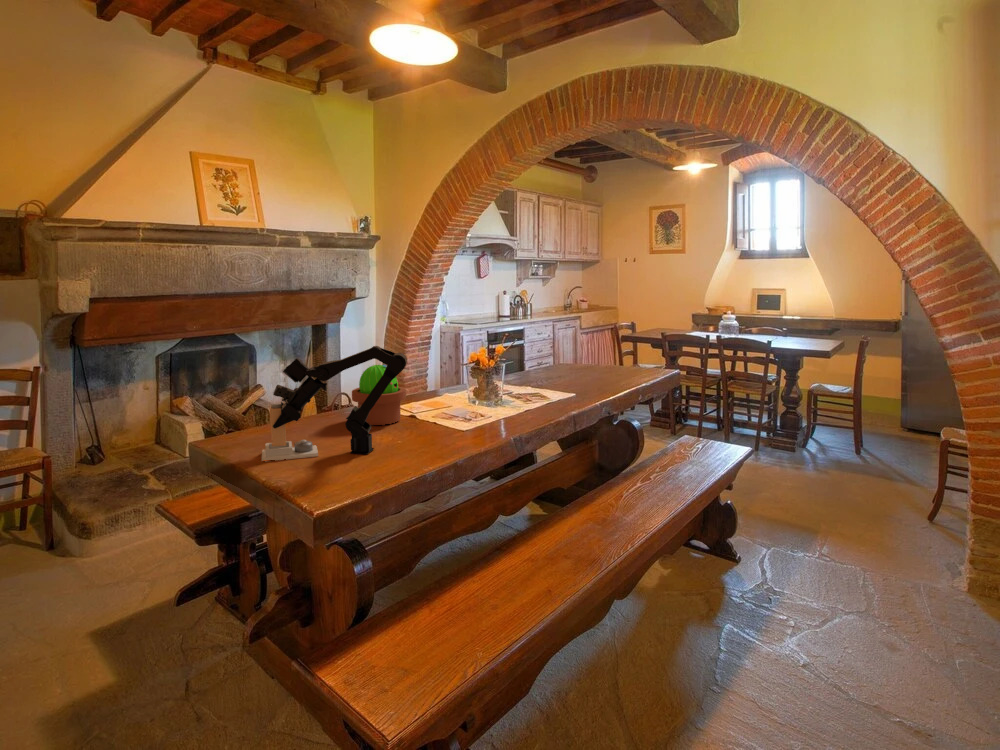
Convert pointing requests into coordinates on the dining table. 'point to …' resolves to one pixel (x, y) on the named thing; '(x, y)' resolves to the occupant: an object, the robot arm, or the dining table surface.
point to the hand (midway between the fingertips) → (273, 425)
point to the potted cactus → (388, 402)
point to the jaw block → (278, 433)
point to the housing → (290, 451)
